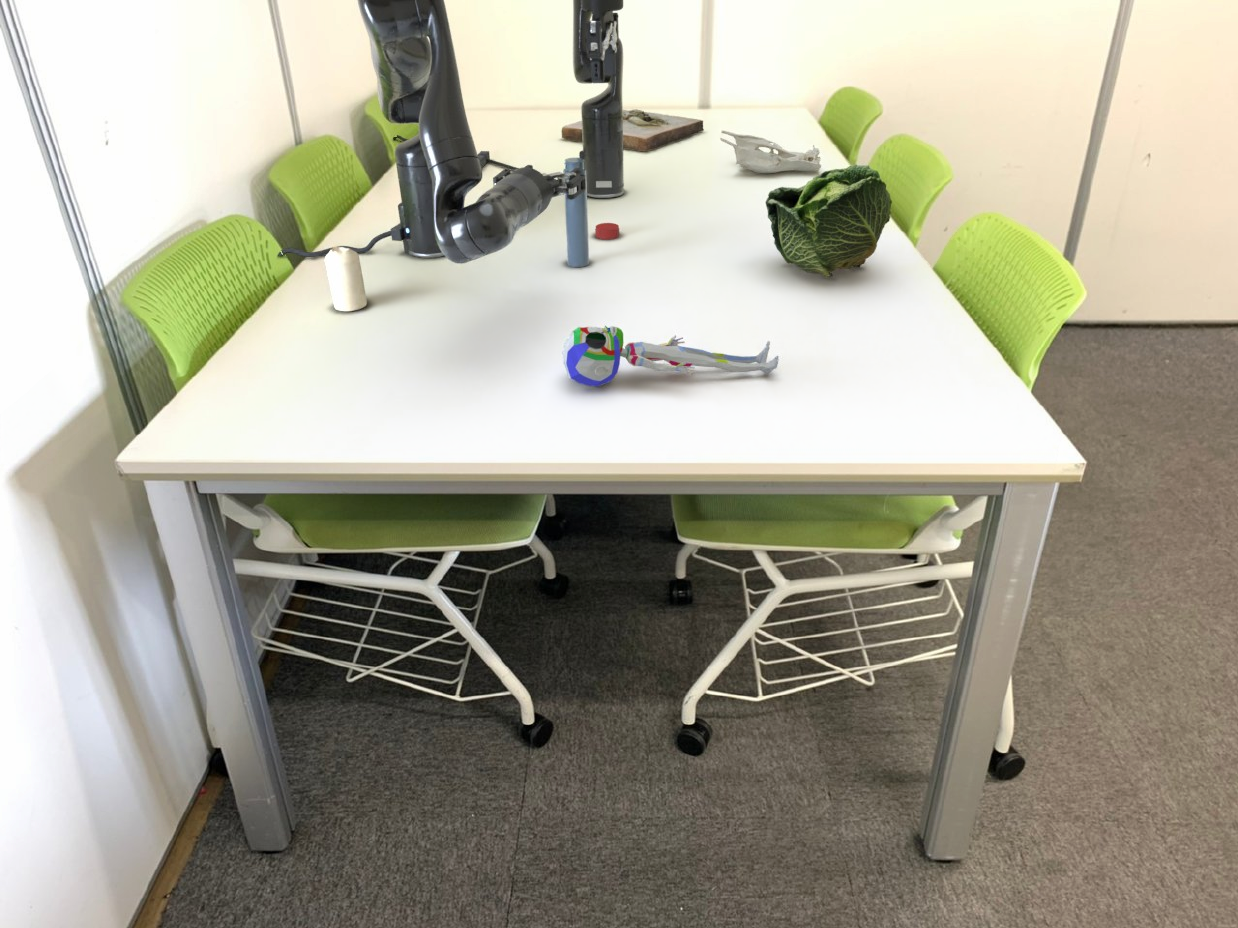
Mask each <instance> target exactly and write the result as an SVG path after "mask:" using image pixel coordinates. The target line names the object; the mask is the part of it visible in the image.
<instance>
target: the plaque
mask: <svg viewBox="0 0 1238 928" xmlns="http://www.w3.org/2000/svg"><path fill="white" fill-rule="evenodd" d="M704 130H705V129H704V120H702V119H698V118H693V117H685V116H679V115H669V114H663V113H659V112H650V111H644V110H642V109H637V108H636V109H635V108H634V109H630V110H629V109H623V149H625V150H632V151H640V152H648V151H654V150H656V149H659V148H662V147H663V146H664V147H665V146H667V145H670V144H672V143H676V142H680V141H682V140H684V139H687V138H691V137H692V136H694V135H696V134H698V133H700V132H704ZM561 138H562V139H563V140H568V141H573V142H581V143H583V140H582V120H579V121H577V122H573V123H569V124H567V125H564V126H562V127H561Z"/></svg>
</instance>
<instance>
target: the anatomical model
mask: <svg viewBox="0 0 1238 928" xmlns="http://www.w3.org/2000/svg"><path fill="white" fill-rule="evenodd" d="M720 133H721V134H724V135H728V136H731V137H733V138H734V140H735V143H734V142H731V141H729V140H728V139H725V138H722V137H720V141H721V142H723V143H725V144H727V145H729V146H732V147H733V149H734V150H733V151H734V154H735V160H736V161H735V164H736V165H739V166H740V168H742V169H744V170H751V171H752V172H754V173H757V174H774V173H779V172H784V171H805V172H813V171H818V170H820V169H821V168H822V164H821V163H820V162H821V156H819V155H820V153H821V152H820V149H819V148H816V147H815V145H812V149H808V150H807V151H806V152H799V151H789V150H786V149H784V148H783V146H781V145H780V144H778V143H776V142H774V141H771V140H768V139H766V138H763V137H760V136H754V135H750V134H738V133H735V132H730V131H727V130H721V132H720ZM760 148H767V149H769V150H770V151H769V152H766V151H764V150H762V149H760ZM774 150H776V151H777V153H775V152H774Z"/></svg>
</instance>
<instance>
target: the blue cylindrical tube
mask: <svg viewBox="0 0 1238 928" xmlns="http://www.w3.org/2000/svg"><path fill="white" fill-rule="evenodd" d="M575 168H580V170H581V171H582V174H584V175H585V182H586V169H585V168H584V159H582V158H579V157H568V158H566V159H564V169H563V172H562V173H564V174H567V173H570V172H571V171H572V170H574V169H575ZM566 181H569V178H568V179H566V180H565V185H566ZM564 211H565V212H564V213H565V214H564V215H565V233H566V234H565V235H566V236H565V237H566V257H567V258H566V259H567V265H568V266H569V267H572V268H583V267H587V266H589V264H590V246H589V217H588V216H589V215H588V213H589V212H588V196H587V182H586V191H584V192H583V193H581V194H580V195H579V196H577V197H576V198H574V199H572V200H570V199H567V194H564Z"/></svg>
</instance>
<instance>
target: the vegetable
mask: <svg viewBox="0 0 1238 928" xmlns="http://www.w3.org/2000/svg"><path fill="white" fill-rule="evenodd" d="M767 196H768V197H767V198H766V200H765V207H766V209H767V219H769V221H770V222H771V223H770V229H771V232H772V237H773V239H774V240H773V244H774V246H775V247H776V250H777V251H778V253H780V255H781V256H782V258H783V259H784V261H785V262H786V264H793V265H794V266H795V267H796V268H799V269H800V270H802V271H804V272H806V273H809V274H813V275H821V276H824V277H825V278H829V276H830V277H833V274H832V273H831V272H834V271H836V270H840V269H848V270H851V268H861V266H862V265H864V264H865V262H866V261H867V259H869V258H870V257H871V256H872V255H873V254H875V252H876V249H877V246H878V242H879V240H880V238H881V235H882V233H883V230H884V228H885V226H886V225H887V224H888V223H889V222H890V220H891V216H890V215H891V214H892V211H891V209H892V204H893V200H892V198H891V194H890V192H889V191H888V189H887V184H886V183H885V180H882V178H881V176H880V173H879V172H878V170H876V169H873V168H871V167H870V165H869V164H868V165H867V164H865V165H863V164H862V165H859V164H852V165H849V166H847V167H846V168H835V169H830V170H825V171H823V172H821V173H820V174H817V175H816V176H814V177H813V178H812V179H811V180H809V181H807V182H806V184H804V185H803V186H800V187H787V186H780V187H778V188H774V189H773V190H770V191H769V192H768V194H767Z"/></svg>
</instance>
